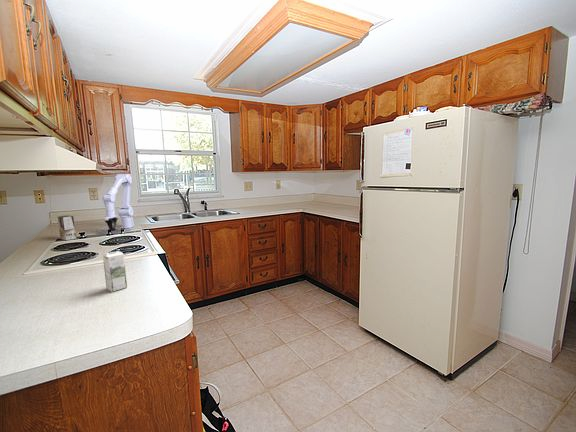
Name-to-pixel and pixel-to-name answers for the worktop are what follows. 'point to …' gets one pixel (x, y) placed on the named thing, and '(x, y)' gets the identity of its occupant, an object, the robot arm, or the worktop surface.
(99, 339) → the worktop surface
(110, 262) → the syrup box
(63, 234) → the coffee box
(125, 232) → the lower end link
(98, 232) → the upper end link
